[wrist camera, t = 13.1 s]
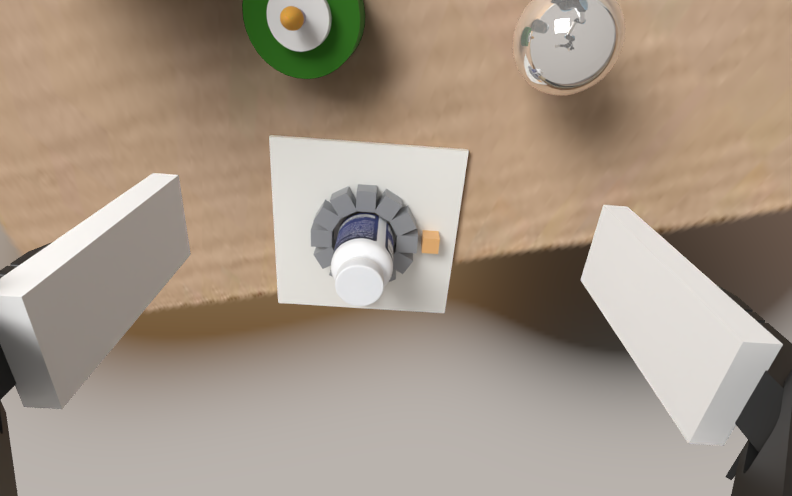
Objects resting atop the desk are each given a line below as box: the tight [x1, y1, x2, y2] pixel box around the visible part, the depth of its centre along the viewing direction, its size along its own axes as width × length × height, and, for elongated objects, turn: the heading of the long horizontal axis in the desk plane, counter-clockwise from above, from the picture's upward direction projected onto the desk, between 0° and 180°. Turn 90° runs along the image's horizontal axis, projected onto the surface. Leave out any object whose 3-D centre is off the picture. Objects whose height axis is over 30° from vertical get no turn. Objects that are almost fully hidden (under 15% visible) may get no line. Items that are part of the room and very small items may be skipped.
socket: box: [269, 135, 469, 313], centre depth 45 cm, size 18×18×2 cm
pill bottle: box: [331, 211, 394, 306], centre depth 42 cm, size 5×5×10 cm
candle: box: [242, 0, 365, 79], centre depth 33 cm, size 8×8×10 cm
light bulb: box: [512, 0, 626, 96], centre depth 33 cm, size 7×7×12 cm
